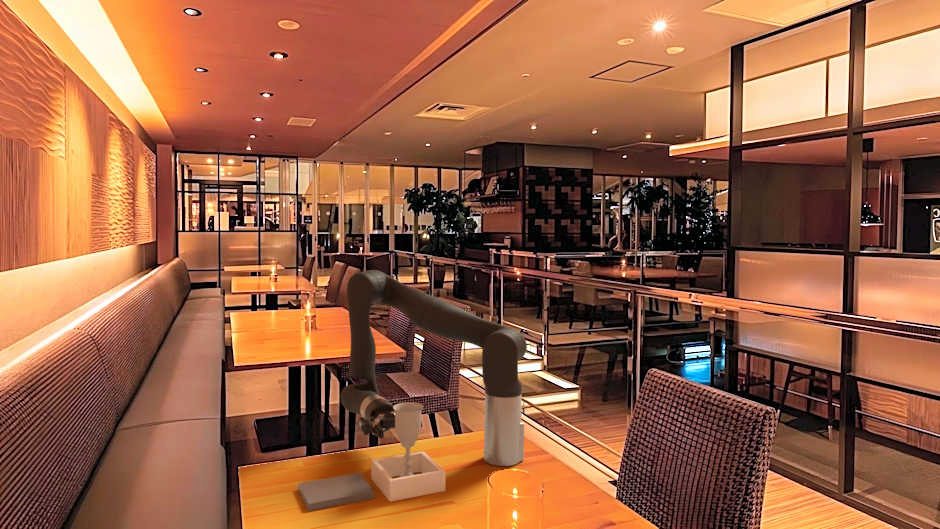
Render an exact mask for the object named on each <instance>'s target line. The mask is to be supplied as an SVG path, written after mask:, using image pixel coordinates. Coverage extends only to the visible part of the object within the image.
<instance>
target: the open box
mask: <svg viewBox="0 0 940 529" xmlns="http://www.w3.org/2000/svg"><path fill="white" fill-rule="evenodd" d="M405 454H406V453H405ZM405 454H399V455H393V456H388V457H387V456H386V457H382V458H381V457H380V458H375V459H374V458H373V459H371V472H370V477H371V478H370V479H371V481H372V482H373V483H374V484H375V485H376V486H377V488H378V489H379V490H380V491H381V493H382V495H383V496H385V498H386V499H387V500H388V501H389V502H395V501H401V500H405V499H411V498H416V497H421V496H426V495H431V494H437V493H441V492H445V491H446V485H447V484H446V480H447V479H446V477H447V476H446V475H447V474H446V473H447V472H446V470H445V469H444V468H443V467H442V466H441V465H440V464H438V463H437V462H436V461H435V460H434V459H433V458H432V457H431V456H429V455H428V454H427V452H425V451H423V450H422V451H417V452H410V454H411V457H410V462H411V463H412V464H411V465H410V472H411V473H413V474H414V475H410V476H405V477H400V476H401V474H403V473H404V472H405V471H406V467H405V465H404V463H405V462H406V458H405ZM415 473H417V474H415ZM394 477H396V478H394Z"/></svg>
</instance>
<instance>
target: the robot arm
mask: <svg viewBox="0 0 940 529" xmlns="http://www.w3.org/2000/svg"><path fill="white" fill-rule="evenodd" d="M346 297H347V298H346V299H347V307H348V319H349V329H350V354H349V369H348V370H349V375H350V376H352V377H353V378H355V379H360V380H365V382H364V383H353V384H348V385H345V387H343V389H342V390H341V393H340V402H341V404H342V406H343V407H344V409H345V410H347V411H348V412H350V413H351V414H352V413H353V414H356V415H360V416H361V417H359V422H358V423H359V430H360V431H361V432H362V434H363V435H364V436H368V435H369V434H372V435H375V437H376V438H379V439H384V434H385V432H388V431H390V430H391V429H392V430H395V411H394V409H393V407H394V406H395V405H393V404H392V403H391V402H390V401H388V399H386V398H385V397H383V396H381V395H380V393H379V388H378V383H377V378H376V369H375V368H376V353H377V350H376V349H377V347H376V342H375V339H374V338H375V337H374V335H373V332H372V329H371V323H370V319H371V318H370V316H371V309H372V305H373V304H376V303H379V304H383V305H387V306H389V307H392V308H394V309H397V310H398V311H399V312H401V313H402V314H403V315H404V316H405V317H406V318H407V319H408V320H409V321H410V322H411V323H412V324H413V325H414V326H416V327H417V328H418V329H421V330H423V331H425V332H427V333H429V334H432V335H434V336H437V337H440V338H443V339H447V340H453V341H458V342H464V343H469V344H472V345H475V346H477V347H479V348H481V349H482V351H481V352H482V353H481V365H482V368H481V370H482V381H483V385H484V429H483V430H484V432H483V433H484V434H483V435H484V436H483V437H484V438H483V440H484V441H483V446H484V447H483V461H484V462H485V463H487V464H489V465H492V466H497V467H499V466H500V467H509V466H514V465H517V464H519V463H520V462H522V461H523V462H524V460H525V459H524V453H525V451H524V450H525V448H524V447H525V446H524V445H525V423H524V422H523V421H522V400H523V399H522V394H523V392H522V391H523V389H522V388H523V385H522V382H521V381H520V380H519V373H518V372H519V368H518V367H519V365H518V362H519V361H520V360H521V359H522V358H523V357H524V356H525V355H526V353H527V348H528V346H527V345H528V344H527V340H526V339H525V337H524V335H523V334H522V333H521V332H520V331H518V330H517V329H515V328H514V327H513V328H512V327H511V326H506V325H503V324H500V323H496V322H493V321H490V320H488V319H485V318H482V317H480V316H477V315H476V314H473V313H471V312H470V311H467V310H465V309H463V308H461V307H459V306H456V305H454V304H452V303H450V302H448V301H446V300H443V299H442V298H439V297H437V296H433V295H431V294H428V293H426V292H423V291H421V290H419V289H416V288H413V287H410V286H408V285H406V284H405V283H403V282H400V281H399V280H397V279H395V278H393V277H392V276H391V275H388V274H387V273H385V272H383V271H381V270H378V269H369V270H364V271H360V272H356V273H354V274H352V275H351V276H350V277H349V279H348V281H347V285H346Z"/></svg>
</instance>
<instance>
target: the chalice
mask: <svg viewBox="0 0 940 529" xmlns="http://www.w3.org/2000/svg"><path fill="white" fill-rule="evenodd" d="M393 406H394V407H393V409H394V411H395V429H394V430H395V434H396V435H397V438H398V440H399V442H400V444H401V447H403V448H404V449H405V458H406V462H405V463H404V465H405V467H406V471H405V472H404V473H403V474H401V475H400V476H399V477H405V476H410V475H415V473H411V472H410V465H411V464H412V463H411V462H410V457H411V454H410V453H411V448H412V447H414V446H415V445H416V442H417V439H419V435H420V432H421V429H422V411H423V409H424V405H423V404H422V403H419V402H411V401H410V402H409V401H407V402H400V403H397V404H395V405H393Z"/></svg>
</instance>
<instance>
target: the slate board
mask: <svg viewBox="0 0 940 529" xmlns="http://www.w3.org/2000/svg"><path fill="white" fill-rule="evenodd" d="M297 490H298V494H299V495H300V497H301V499H302V500H303V503H304V504H305V507H306V508H307V510H308V512H311V511H316V510H321V509H327V508H331V507H336V506H341V505H342V506H343V505H347V504H351V503H357V502H363V501H367V500H371V499H375V491H374V489H373V488H372V487H371V485H370V484H369V483H368V482H367V480H366V479H365V478H364V477H363V475H362V474H361V472H356V473H351V474H346V475H345V474H344V475H340V476H333V477H327V478H323V479H322V478H321V479H316V480H315V479H314V480H309V481H303V482H299V483H297Z"/></svg>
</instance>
